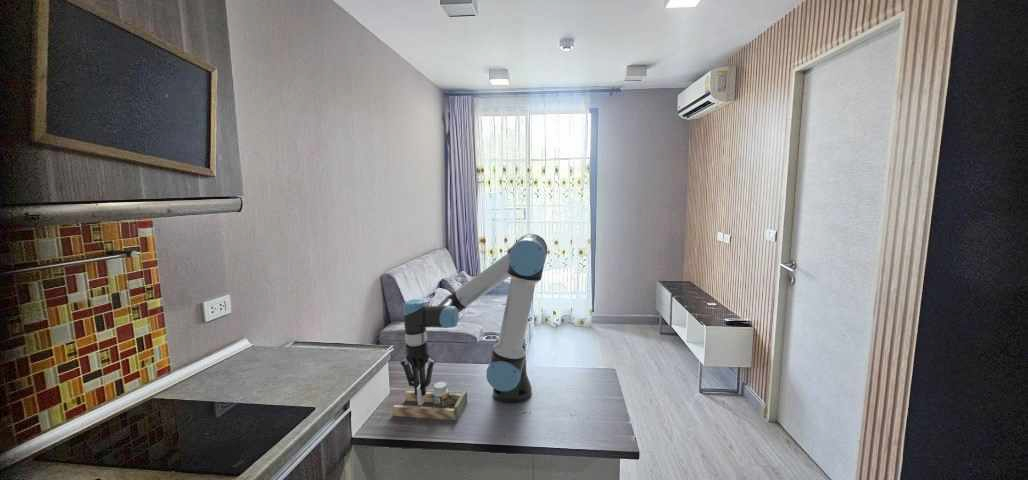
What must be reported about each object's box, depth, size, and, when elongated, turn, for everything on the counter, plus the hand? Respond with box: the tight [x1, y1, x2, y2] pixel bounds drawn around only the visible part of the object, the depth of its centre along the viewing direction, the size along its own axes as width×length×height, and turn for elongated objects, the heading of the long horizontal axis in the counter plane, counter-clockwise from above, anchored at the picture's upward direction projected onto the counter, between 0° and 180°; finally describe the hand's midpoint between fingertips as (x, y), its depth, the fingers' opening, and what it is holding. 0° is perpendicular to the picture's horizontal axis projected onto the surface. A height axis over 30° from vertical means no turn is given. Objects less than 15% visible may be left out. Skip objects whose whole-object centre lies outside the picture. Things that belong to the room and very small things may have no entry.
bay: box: [392, 390, 468, 421], centre depth 147 cm, size 24×11×5 cm, turn 80°
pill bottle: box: [432, 381, 451, 409], centre depth 146 cm, size 6×6×10 cm
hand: (421, 403), depth 148 cm, fingers closed
